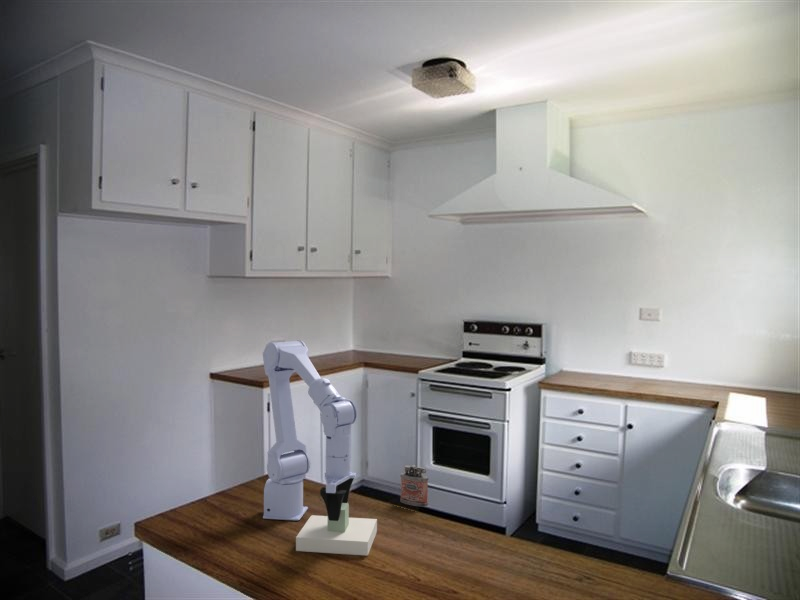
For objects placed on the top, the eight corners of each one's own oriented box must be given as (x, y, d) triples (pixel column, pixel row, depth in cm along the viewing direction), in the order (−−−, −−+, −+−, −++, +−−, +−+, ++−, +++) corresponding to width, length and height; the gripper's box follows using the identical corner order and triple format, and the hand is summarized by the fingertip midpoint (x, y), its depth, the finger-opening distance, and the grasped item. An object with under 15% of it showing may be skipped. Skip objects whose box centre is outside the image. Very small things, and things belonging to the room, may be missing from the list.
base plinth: (295, 550, 121) (296, 537, 121) (311, 527, 133) (311, 515, 133) (367, 555, 119) (367, 541, 119) (376, 531, 131) (377, 519, 131)
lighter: (397, 502, 150) (398, 465, 150) (403, 498, 153) (403, 462, 153) (424, 507, 146) (425, 470, 146) (430, 503, 149) (430, 466, 149)
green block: (327, 531, 125) (327, 509, 125) (331, 523, 129) (331, 502, 128) (344, 532, 124) (345, 510, 124) (348, 524, 128) (348, 503, 128)
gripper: (348, 464, 118) (348, 527, 119) (361, 445, 133) (361, 502, 133) (316, 463, 119) (316, 525, 120) (333, 444, 134) (332, 500, 134)
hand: (338, 513), depth 126 cm, fingers open, 7 cm apart
